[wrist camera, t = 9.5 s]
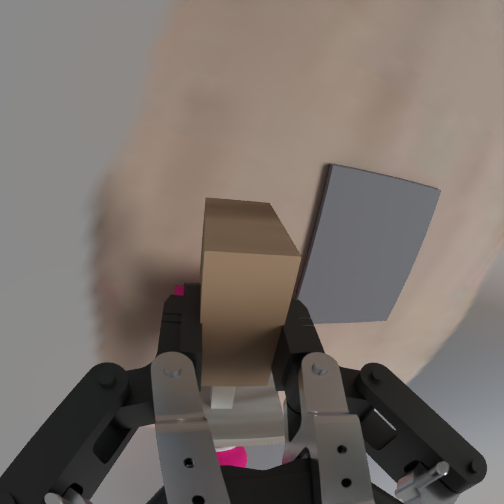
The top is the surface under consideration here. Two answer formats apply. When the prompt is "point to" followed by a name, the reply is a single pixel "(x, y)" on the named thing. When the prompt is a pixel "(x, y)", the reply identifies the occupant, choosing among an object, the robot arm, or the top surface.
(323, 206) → the mat
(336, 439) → the robot arm
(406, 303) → the top surface
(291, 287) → the wood and metal piece
